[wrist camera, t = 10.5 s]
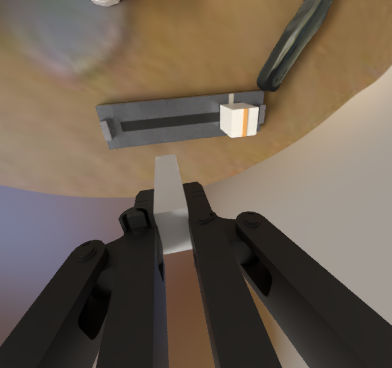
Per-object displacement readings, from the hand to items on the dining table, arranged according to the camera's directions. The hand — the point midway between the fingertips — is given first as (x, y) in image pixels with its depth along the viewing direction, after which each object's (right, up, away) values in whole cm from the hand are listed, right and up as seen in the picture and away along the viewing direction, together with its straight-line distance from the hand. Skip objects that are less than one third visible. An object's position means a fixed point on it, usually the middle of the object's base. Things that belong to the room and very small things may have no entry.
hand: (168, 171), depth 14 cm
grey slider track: (0, +11, +19) cm, 22 cm away
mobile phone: (+17, +23, +16) cm, 32 cm away
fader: (+8, +11, +18) cm, 23 cm away
